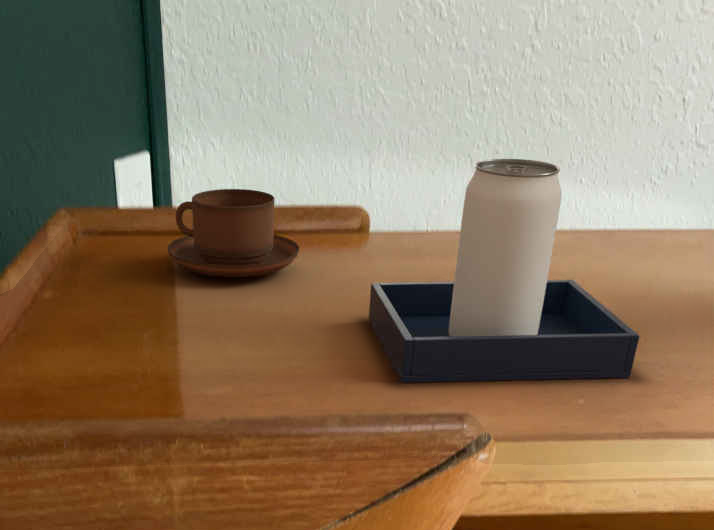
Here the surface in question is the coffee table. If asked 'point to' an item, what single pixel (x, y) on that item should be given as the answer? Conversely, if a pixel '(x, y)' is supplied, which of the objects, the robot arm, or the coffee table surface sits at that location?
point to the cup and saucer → (231, 235)
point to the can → (505, 248)
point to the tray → (499, 337)
